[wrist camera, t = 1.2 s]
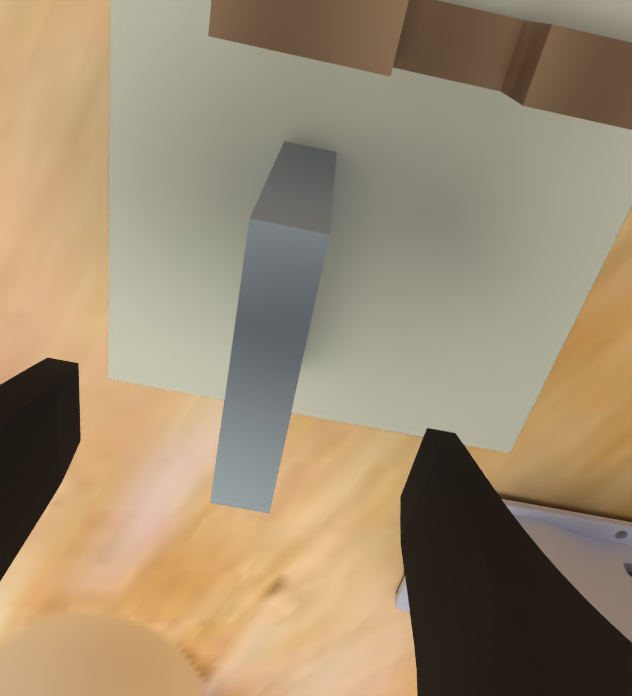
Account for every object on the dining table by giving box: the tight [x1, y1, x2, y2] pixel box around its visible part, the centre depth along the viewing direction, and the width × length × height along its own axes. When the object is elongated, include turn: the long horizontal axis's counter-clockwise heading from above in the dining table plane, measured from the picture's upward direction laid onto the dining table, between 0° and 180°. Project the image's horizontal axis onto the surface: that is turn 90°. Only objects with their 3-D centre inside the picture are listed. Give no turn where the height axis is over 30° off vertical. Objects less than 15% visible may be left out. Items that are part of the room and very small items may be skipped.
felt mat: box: [108, 0, 632, 453], centre depth 18 cm, size 16×19×1 cm
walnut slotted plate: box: [208, 0, 632, 130], centre depth 14 cm, size 11×2×4 cm, turn 79°
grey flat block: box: [210, 141, 337, 513], centre depth 16 cm, size 2×8×7 cm, turn 169°
